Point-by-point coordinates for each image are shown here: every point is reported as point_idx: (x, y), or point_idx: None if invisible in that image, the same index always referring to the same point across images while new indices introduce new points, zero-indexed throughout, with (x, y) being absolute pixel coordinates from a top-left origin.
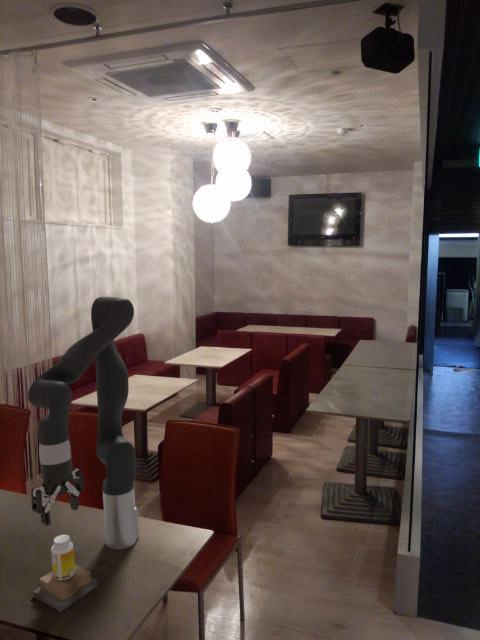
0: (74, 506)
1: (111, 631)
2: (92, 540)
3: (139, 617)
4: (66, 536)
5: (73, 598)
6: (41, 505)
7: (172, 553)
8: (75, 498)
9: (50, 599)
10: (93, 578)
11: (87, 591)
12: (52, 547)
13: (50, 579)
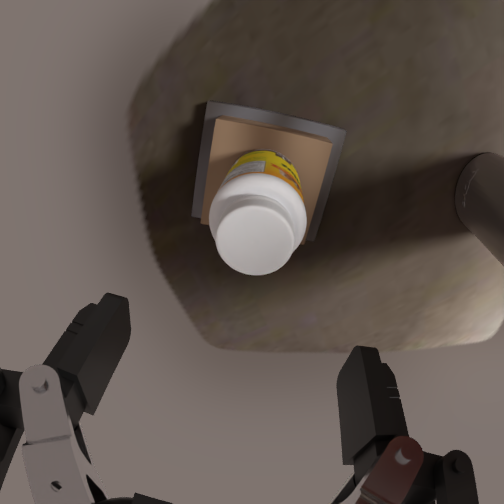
0: (343, 393)
1: (201, 326)
2: (481, 109)
3: (251, 349)
4: (279, 253)
5: None
6: (9, 452)
7: (444, 318)
8: (346, 457)
9: (201, 174)
10: (317, 227)
11: None
12: (227, 194)
13: (227, 154)
